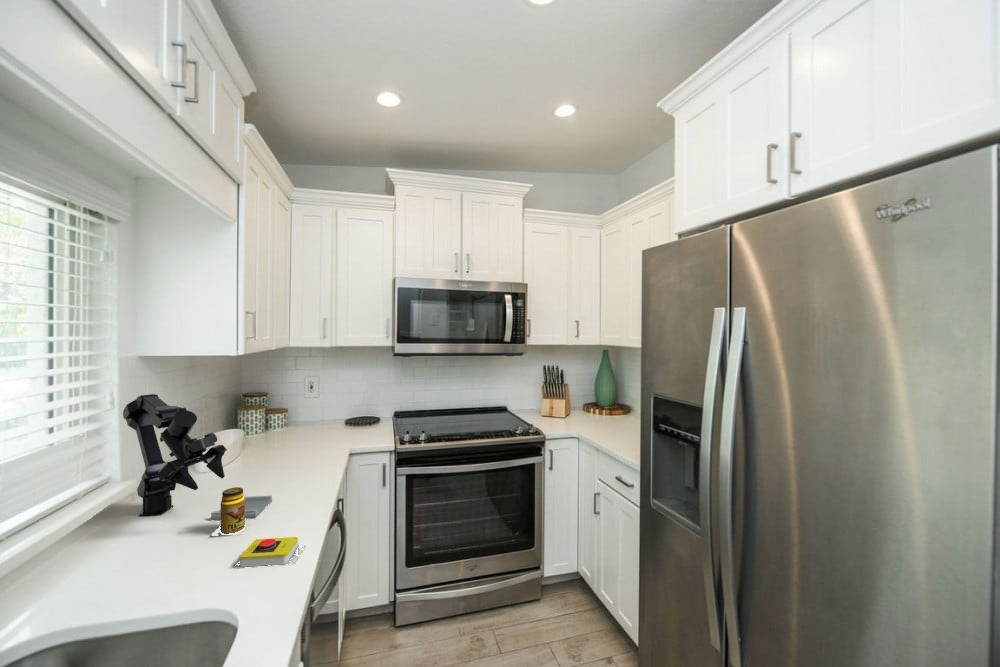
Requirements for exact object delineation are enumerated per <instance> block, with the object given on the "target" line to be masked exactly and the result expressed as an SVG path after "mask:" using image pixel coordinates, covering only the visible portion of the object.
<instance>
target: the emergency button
mask: <svg viewBox="0 0 1000 667" xmlns="http://www.w3.org/2000/svg"><path fill="white" fill-rule="evenodd" d="M298 538H299V537H298V536H292V537H291V536H290V537H275V538H274V537H273V538H258V539H254V540H253V541H252V542H251V543H250V545H249V546H248V547H247V548H246V549H245V550H244V551H243V552H242V553H241V554H240V556H239V557H240V558H239V560H240V563H238V564H240V565H239V566H238V565H236V566H234V565H233V567H234V568H233V569H246V568H245V567H251V568H256V567H255V566H265V567H269V566H268V565H271V566H270V567H273V566H272V565H280V566H290V565H289V564H290V563H291V564H292V565H295V564H296V562H299V560H300V558H301V557H300V556H299V557H298V556H296V555H294V554H296V553H295V552H296V550H297V548H298V547H299V539H298ZM302 546H304V547H302V548H304V550H301V549H299V548H298V555H301V554H302V553H304V552H305V550H306V549H307V545H304V544H302ZM305 548H306V549H305ZM303 551H304V552H303ZM302 555H303V554H302ZM302 555H301V556H302ZM291 558H293V559H291ZM290 559H291V560H290ZM298 559H299V560H298ZM289 561H291V562H289ZM286 564H288V565H286Z"/></svg>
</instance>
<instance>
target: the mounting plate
mask: <svg viewBox="0 0 1000 667" xmlns="http://www.w3.org/2000/svg"><path fill="white" fill-rule="evenodd" d="M272 502H273V498H272V499H271V500H267V501H248V502H245V510H251V509H258V513H257V514H256V515H245V518H249V519H256V518H257V517H258V516H259V515H260V514H261V513H262V512H263V511H264V510H265V509H266V508H267V507H268V506H269V505H270V504H272ZM268 504H269V505H268ZM266 506H267V507H266ZM265 507H266V508H265ZM218 511H221V509H220V510H218ZM211 520H215V521H221V517H211V516H210V521H211Z"/></svg>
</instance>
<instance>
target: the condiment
mask: <svg viewBox="0 0 1000 667" xmlns="http://www.w3.org/2000/svg"><path fill="white" fill-rule="evenodd" d="M221 495H222V496H221V500H220V510H221V520H219V521H220V525H221V526H220V527H221V529H220V530H221V532H222V533H224V534H229V533H235V532H238V531H240V530H242V529H243V528H244V527H245V526H244V525H245V523H246V521H245V520H246V519H245V498H244V497H245V496H244V489H243V487H237V486H236V487H231V488H227V489H225V490H223V491H222V493H221Z"/></svg>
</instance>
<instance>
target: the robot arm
mask: <svg viewBox="0 0 1000 667" xmlns="http://www.w3.org/2000/svg"><path fill="white" fill-rule="evenodd" d="M122 416H123V419H124V420H125V421H126V424H127V426H128V427H130V428H131V429H133V430H134V431H135V433H136V437H137V440H138V443H139V448H140V452H141V454H142V455H141V456H142V459H143V462H144V467H145V469H144V472H143V473H142V476H141V479H140V482H139V484H138V487H137V489H136V490H137V492H136V493H137V496H138V497H139V498H141V499H142V512H141V513H139V514H138V516H139V517H147V516H161V515H163V514H165V513H166V512H168V511H169V510H171V509H172V508H173V507H174V505H173V504H172V495H171V492H172V491H175V490H176V486H177V484H178V485H181V486H183V487H185V488H189V489H190V490H194V491H197V490H198V489H199V486H198V484H197V482H196V480H195V479H194V477H192V476H191V474H190V473H189V467H190V466H194V465H196V464H199V463H202V462H203V464H206V465H205V466H206V468H208V469H209V470H210V471H211V472H212V473H213V474H215V476H217V477H218V478H220V479H224V478H225V471H224V467H223V463H222V459H223V456H224V455H225V453H226V452H227V451H228V450H227V448H226V447H225V446H224V444H217V445H216V444H215V443H217V442H218V437H217V435H216V434H215V433H214V432H211V433H207V434H205V435H204V437H202V438H199V439H198V438H195V437H193V438H192V437H191V436H190V435H189V434H190V433H191V431H192V429H193V427H194V426H195V424H197V422H198V416H197V415H196V414H195V413H194V412H193V411H190V410H187V408H186V407H181V406H178V405H169V404H167V403H166V402H165V401H163V400H162V399H161V398H160V397H159V395H158V394H155V393H152V394H142V395H139V396H137V397H136V399H134V400H131V402H128V403H127V404H126V405H125V406H124V408H123V410H122ZM155 428H157V429H164V430H163V432H160V437H159V441H158V437H157V433H156V430H155ZM159 442H161V443H163V442H164V444H165V445H166V447H167V449H169V451H170V452H169V457H170V458H173V457H175V458H176V459H174V460H171V461H165V460H164V458H163V455H162V452H161V448H160V444H159ZM207 448H209V449H208V450H207ZM203 453H204V454H203ZM171 507H172V508H171ZM170 508H171V509H170ZM167 510H168V511H167ZM164 512H165V513H164Z"/></svg>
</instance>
